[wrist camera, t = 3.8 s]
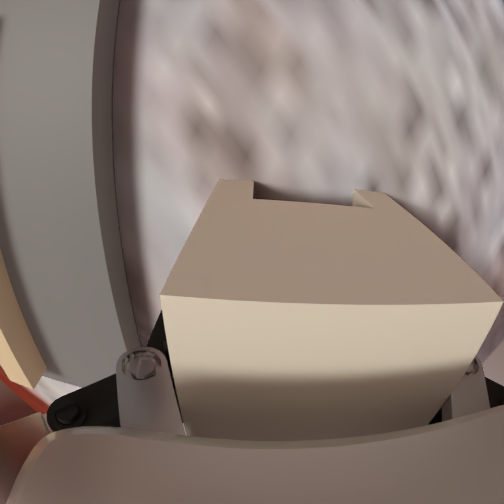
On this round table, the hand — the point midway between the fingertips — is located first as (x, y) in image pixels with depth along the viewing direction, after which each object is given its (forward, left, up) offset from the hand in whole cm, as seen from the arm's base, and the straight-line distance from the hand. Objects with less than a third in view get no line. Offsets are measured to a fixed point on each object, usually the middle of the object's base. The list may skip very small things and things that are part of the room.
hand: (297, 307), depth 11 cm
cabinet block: (0, 0, -2) cm, 2 cm away
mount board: (+14, -3, -2) cm, 14 cm away
